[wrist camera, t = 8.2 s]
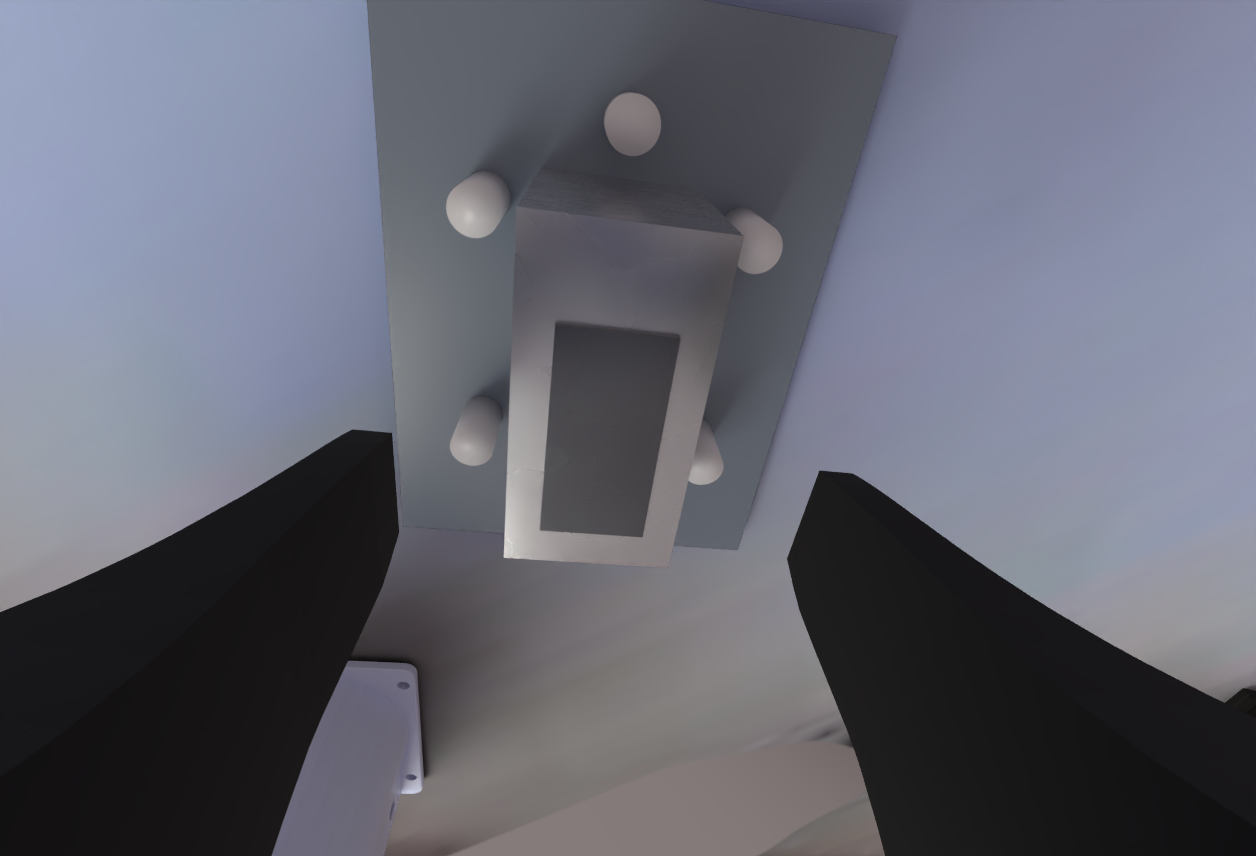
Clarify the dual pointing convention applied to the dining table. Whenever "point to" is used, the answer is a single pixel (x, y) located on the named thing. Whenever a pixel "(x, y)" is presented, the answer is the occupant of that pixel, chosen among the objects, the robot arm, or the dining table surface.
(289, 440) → the dining table surface
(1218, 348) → the dining table surface
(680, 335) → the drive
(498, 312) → the grey knobbed plate
